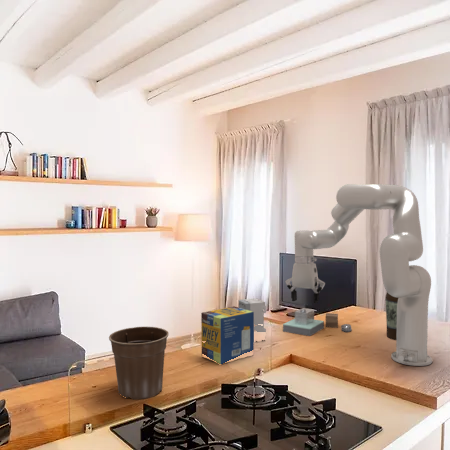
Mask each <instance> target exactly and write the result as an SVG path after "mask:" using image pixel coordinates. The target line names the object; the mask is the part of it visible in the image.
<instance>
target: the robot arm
mask: <svg viewBox="0 0 450 450" xmlns="http://www.w3.org/2000/svg"><path fill="white" fill-rule="evenodd" d="M335 199H336V203H337V204H335V206H333V208H332V209H331V211H330V214H331V217H332V219H333V220H334V222H333V223H332V224H331V225H330V226H329V227H328V228H327V229H317V230H316V229H315V230H314V229H313V230H296V231H295V232H294V263H293V267H292V275H291V277H290V278H287V279H286V280H285V281H284V282H285V284H286V286H287V289H289V292H290V295H291V296H290V297H291V302H295V301H297V299H298V296H297V295H298V293H297V289H309V290H310V289H311V290H312V291H313V292H314V293H313V304H317V303H319V301H320V293H321V292H322V291H323V290H324V287H325V285H326V282H325V281H323V280H321V279H320V278H319V277H318V275H319V274H318V269H317V264H316V263H315V262H317V257H315V256H314V250H322V249H330V248H333V247H335V246H336V245H337V244H338V243H340V241H342V240H343V238H344V237H346V235H347V233H348V230H349V228H350V224H351V223H352V222H353V221H354V220H355V219H357V217H358V216H359V215H360V214H361V213H362V212H363V211H364V210H374V211H377V210H378V211H379V210H393V211H394V212H393V216H392V229H393V230H392V231H393V234H392V233H391V234H389V235H386V236H385V238H383V239H382V241H381V243H380V246H379V260H380V262H379V263H380V269H381V276H382V277H381V278H382V283H383V284H382V285H383V287H384V289H385V292H386V293H387V292H388V293H389V294H390V295H391V296H393V297H396V298H398V303H397V340H396V346H395V347H396V349H395V350H396V351H393V352H392V353H391V355H390V356H391V359H392V360H393V361H394V362H396V363H399V364H402V365H407V366H414V367H425V366H430V365H431V364H432V363H433V358H432V356H430V355H429V354H428V335H429V334H428V327H429V326H428V323H429V322H428V321H429V319H428V318H429V317H428V315H429V300H430V293H431V288H432V278H431V275H430V273H429V272H428V271H427V269H426V268H425V267H422V266H421V265H418V264H416V265H415V264H410V262H414V261H417V260H418V259H420V258H421V257H422V256H423V253H424V244H423V235H422V228H421V219H420V209H419V201H418V199H417V196H416V194H415V193H414V192H413V191H412V190H411V189H409V188H407V187H405V186H403V185H397V184H382V183H380V184H379V183H378V184H377V183H376V184H375V183H374V184H372V183H371V184H364V183H363V184H356V183H355V184H354V183H348V184H347V183H346V184H344V185H342V186H341V187H339V189H338V190H337V192H336V197H335Z"/></svg>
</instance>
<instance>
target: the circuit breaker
mask: <svg viewBox="0 0 450 450" xmlns="http://www.w3.org/2000/svg"><path fill="white" fill-rule="evenodd" d="M238 308H242V309H245V310H249V311H252V312H254V324H255V325H257V326H255V327H254V330H256V331H257V332H266V333H267V329H266V328H265V315H264V314H266V313H267V306H266V301H264V300H262V299H259V298H246V299H238ZM258 324H263V326H261V325H258Z"/></svg>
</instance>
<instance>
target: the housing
mask: <svg viewBox="0 0 450 450" xmlns="http://www.w3.org/2000/svg"><path fill="white" fill-rule="evenodd" d="M294 319H295V324H299V325H305V326H306V325H308V324H310V323H312V322H314V320H315V309H312V308H305V307H302V308H300V309H298V310H296V311H294Z"/></svg>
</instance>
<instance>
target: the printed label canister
mask: <svg viewBox="0 0 450 450" xmlns="http://www.w3.org/2000/svg"><path fill="white" fill-rule="evenodd" d="M397 303H398V298H396V297H393V296H391V295H390V294H389V293H388V292H387V291H386V295H385V313H386V314H385V315H386V317H385V319H386V321H385V322H386V337H387V338H389V339H391V338H392V339H391V340H395V339H396V340H395V341H397Z"/></svg>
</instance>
